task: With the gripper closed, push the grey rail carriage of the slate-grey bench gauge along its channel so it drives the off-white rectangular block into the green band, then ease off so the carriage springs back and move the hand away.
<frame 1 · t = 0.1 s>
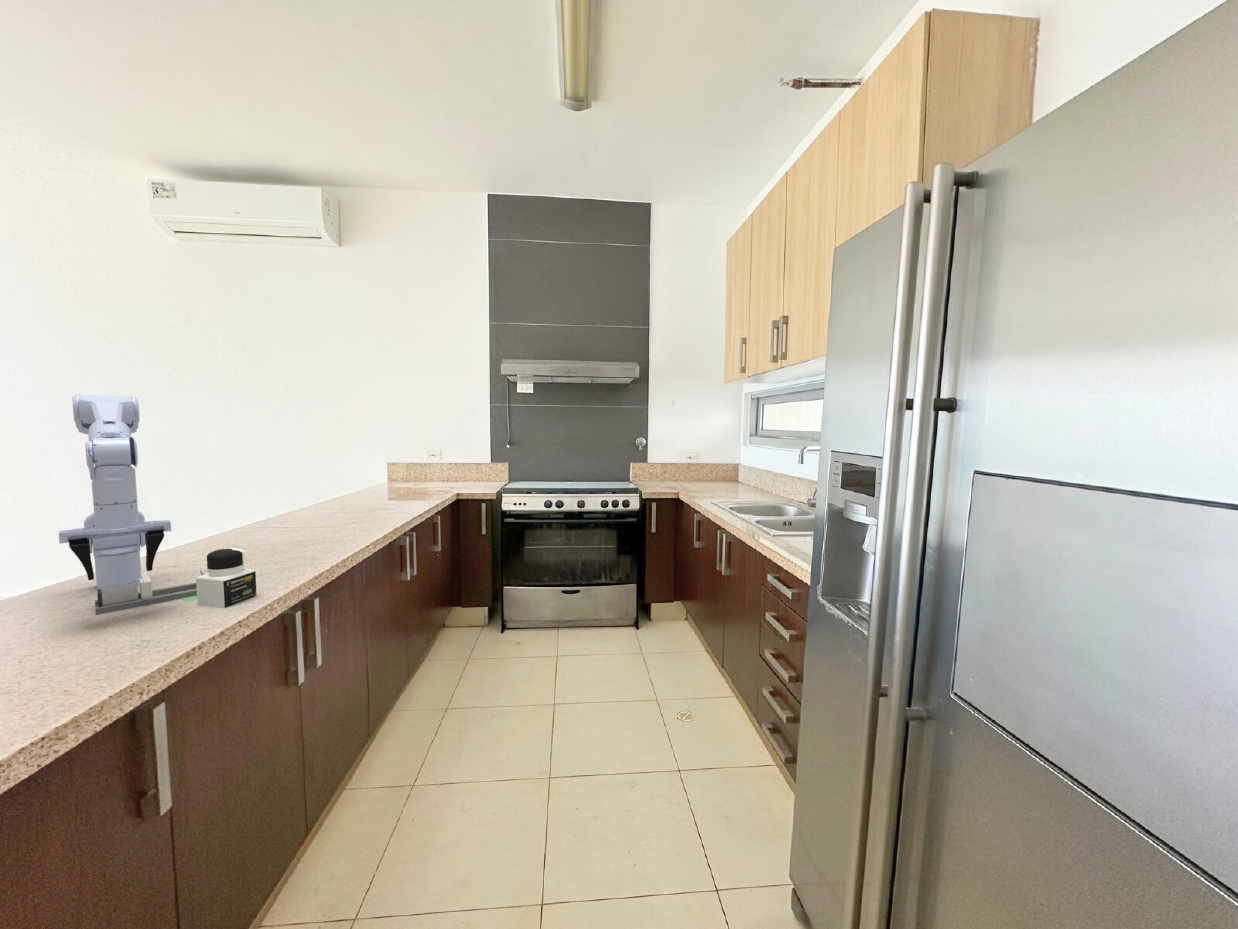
hand: (121, 574, 93), 10 cm above the countertop, fingers open, 7 cm apart
medicine bottle: (228, 607, 104), on the countertop
off-white rectangular block: (145, 589, 103), point 4 cm above the countertop, slide at 0.0 cm
grey rail carriage: (117, 596, 100), point 3 cm above the countertop, slide at 0.0 cm
gauge board: (158, 604, 104), on the countertop
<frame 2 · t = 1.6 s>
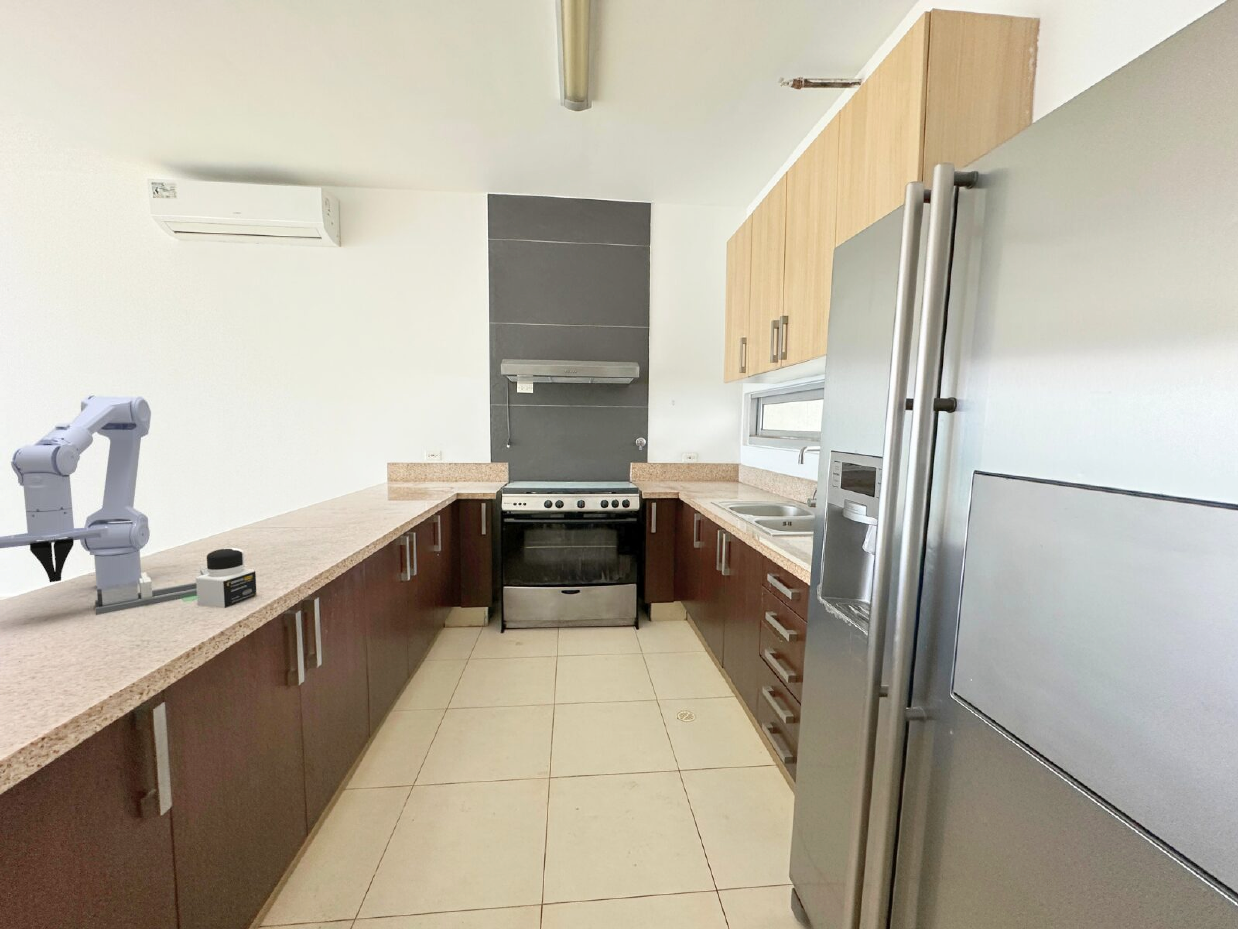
hand: (55, 580, 93), 8 cm above the countertop, fingers closed
nothing on the countertop moved.
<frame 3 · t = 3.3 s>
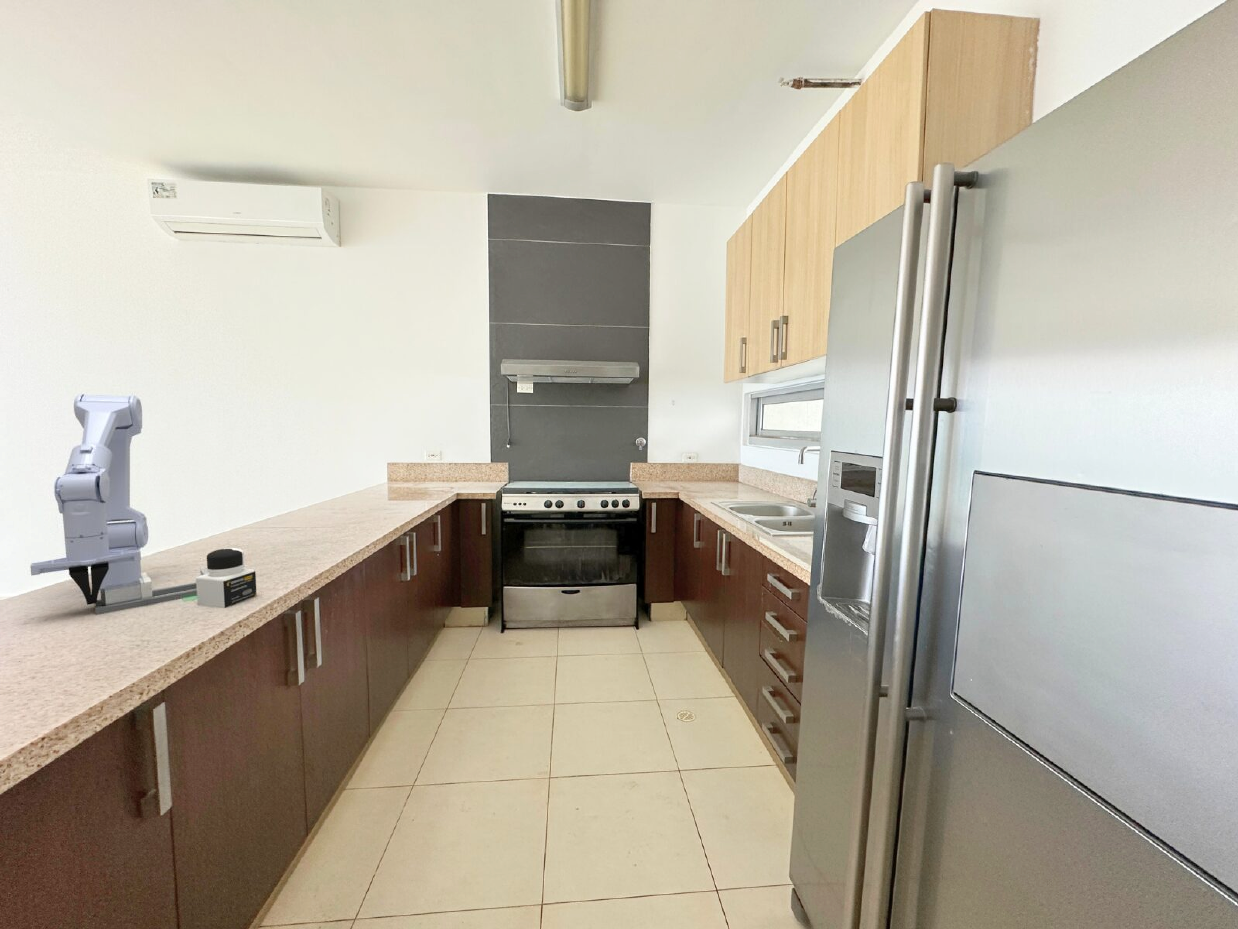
hand: (92, 602, 97), 3 cm above the countertop, fingers closed
grey rail carriage: (121, 595, 100), point 3 cm above the countertop, slide at 0.5 cm, touching gripper
everything else where it was.
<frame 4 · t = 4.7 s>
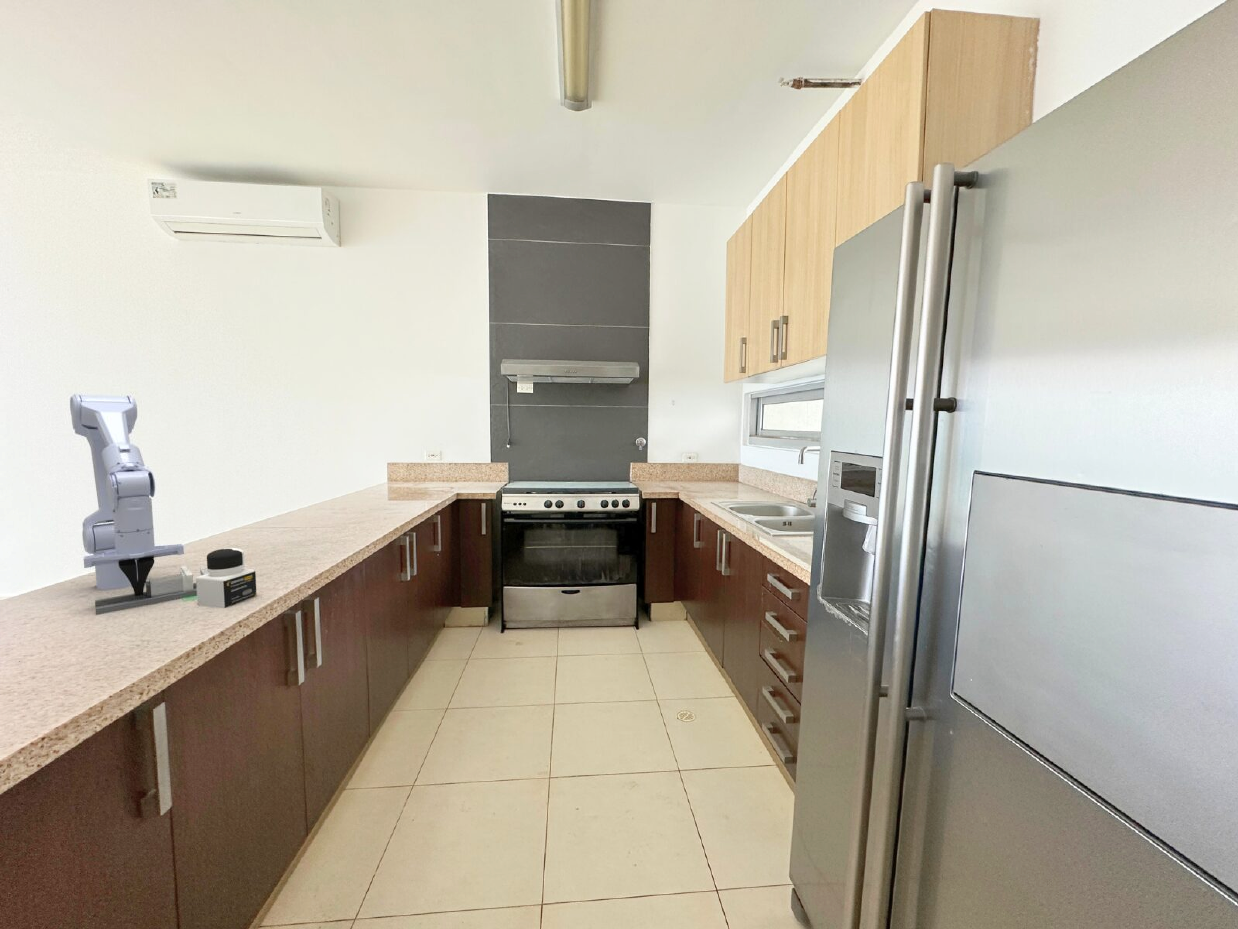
hand: (138, 594, 102), 3 cm above the countertop, fingers closed
off-white rectangular block: (186, 581, 107), point 4 cm above the countertop, slide at 6.5 cm, touching grey rail carriage
grey rail carriage: (164, 588, 105), point 3 cm above the countertop, slide at 7.0 cm, touching gripper, off-white rectangular block
everything else where it was.
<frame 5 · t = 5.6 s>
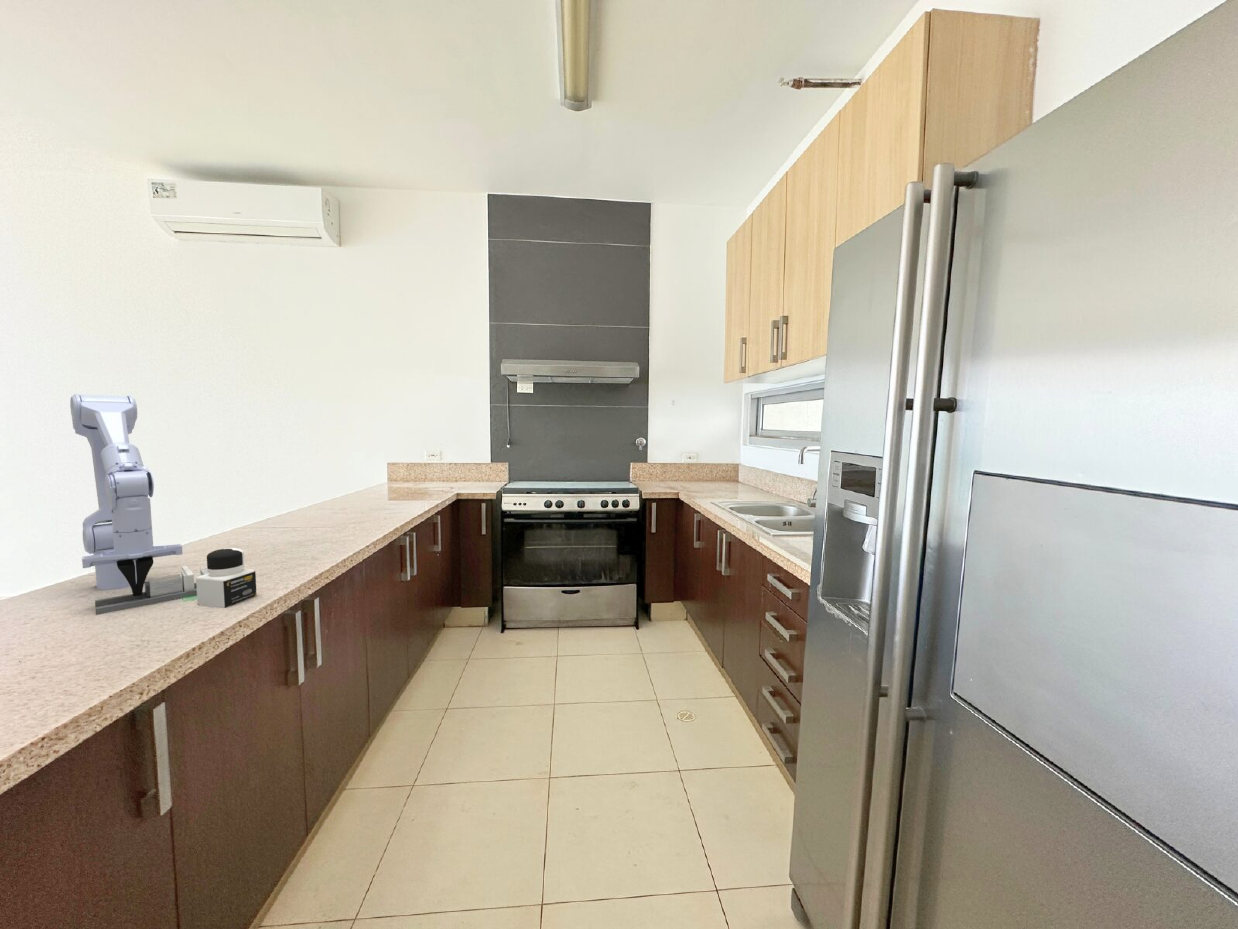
hand: (137, 594, 102), 3 cm above the countertop, fingers closed
off-white rectangular block: (187, 581, 107), point 4 cm above the countertop, slide at 6.6 cm
grey rail carriage: (163, 588, 105), point 3 cm above the countertop, slide at 6.8 cm, touching gripper
everything else where it was.
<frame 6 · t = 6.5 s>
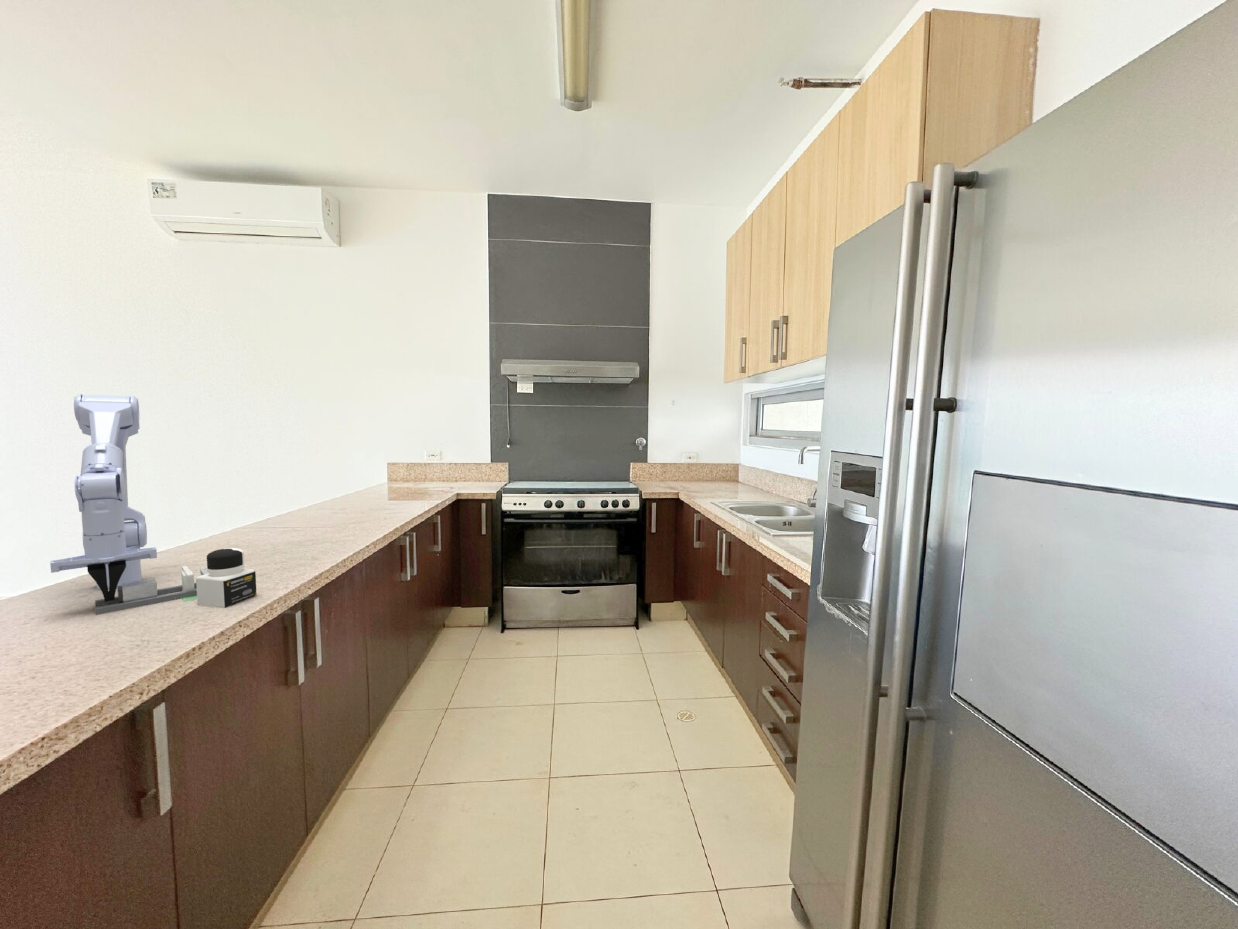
hand: (109, 599, 99), 3 cm above the countertop, fingers closed
grey rail carriage: (137, 592, 102), point 3 cm above the countertop, slide at 2.9 cm, touching gripper
everything else where it was.
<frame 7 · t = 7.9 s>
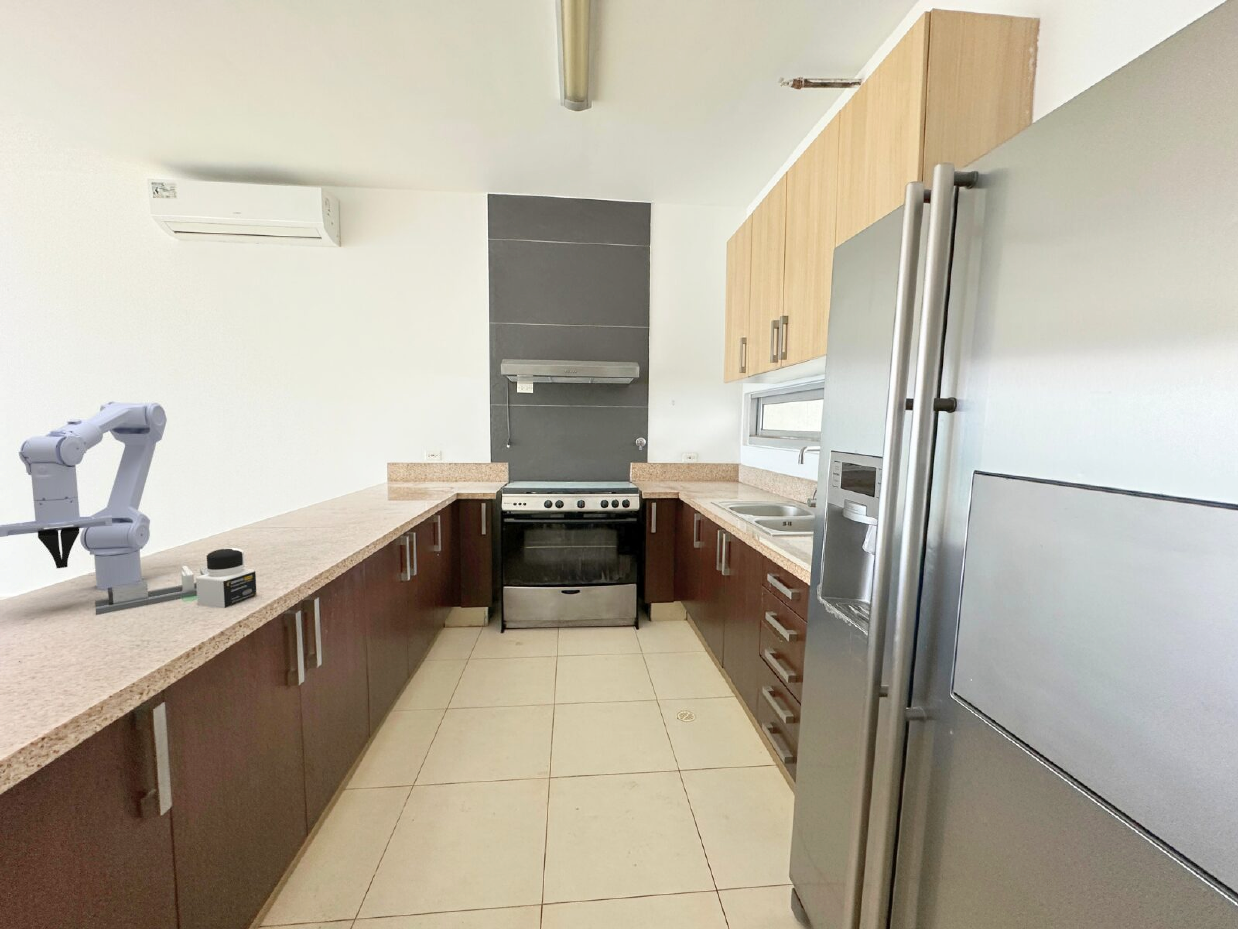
hand: (62, 566, 97), 10 cm above the countertop, fingers closed
grey rail carriage: (128, 594, 101), point 3 cm above the countertop, slide at 1.5 cm
everything else where it was.
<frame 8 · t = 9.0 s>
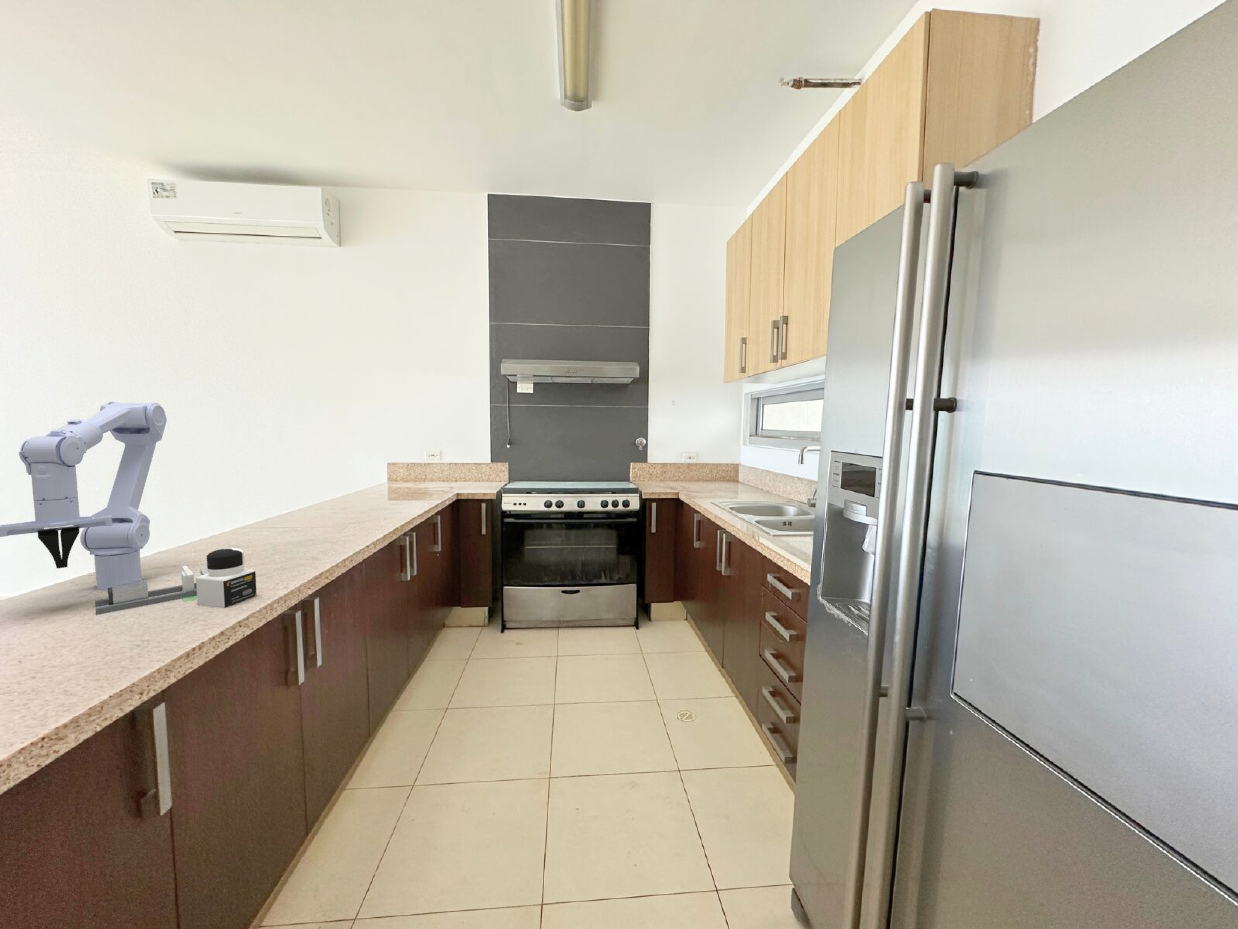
hand: (62, 566, 97), 10 cm above the countertop, fingers closed
nothing on the countertop moved.
at the end: off-white rectangular block slide at 6.6 cm; grey rail carriage slide at 1.5 cm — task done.
